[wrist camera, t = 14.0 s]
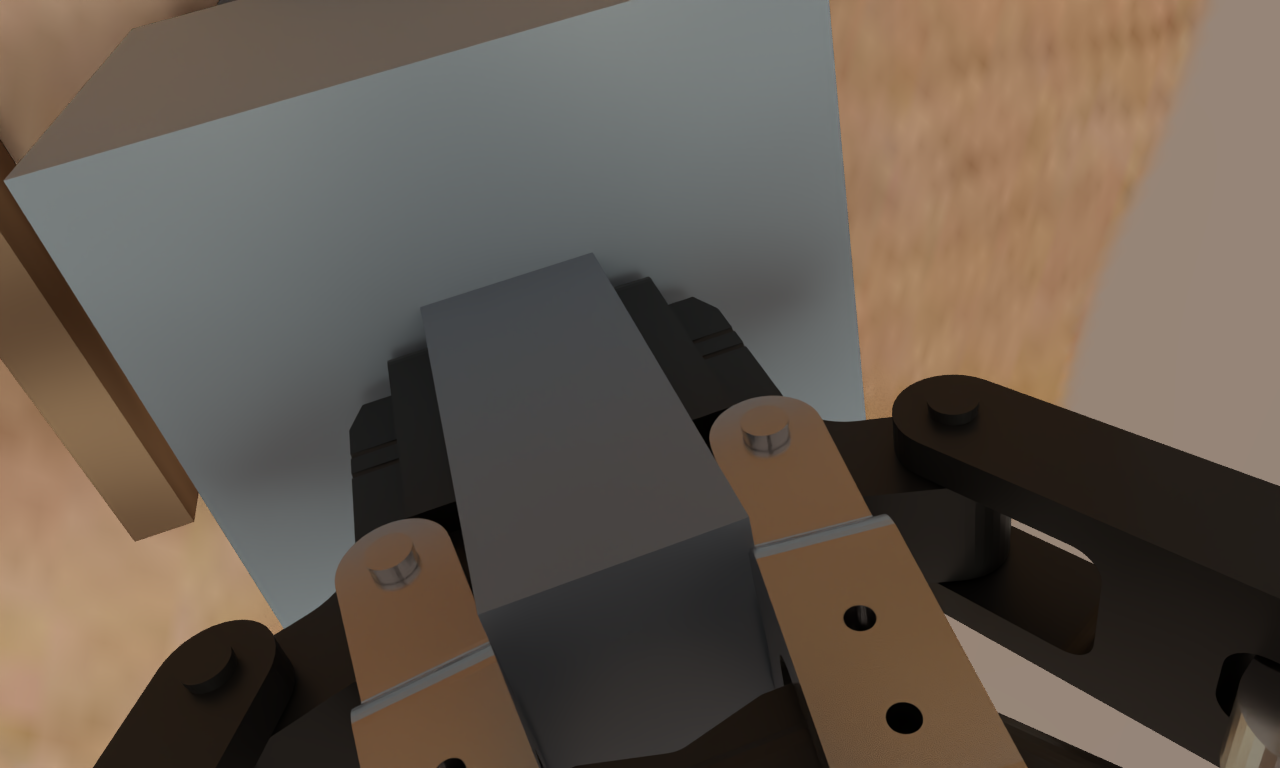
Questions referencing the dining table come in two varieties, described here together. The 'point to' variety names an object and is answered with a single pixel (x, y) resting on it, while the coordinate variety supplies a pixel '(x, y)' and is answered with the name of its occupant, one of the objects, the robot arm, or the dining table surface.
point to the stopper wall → (83, 384)
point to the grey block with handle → (475, 300)
